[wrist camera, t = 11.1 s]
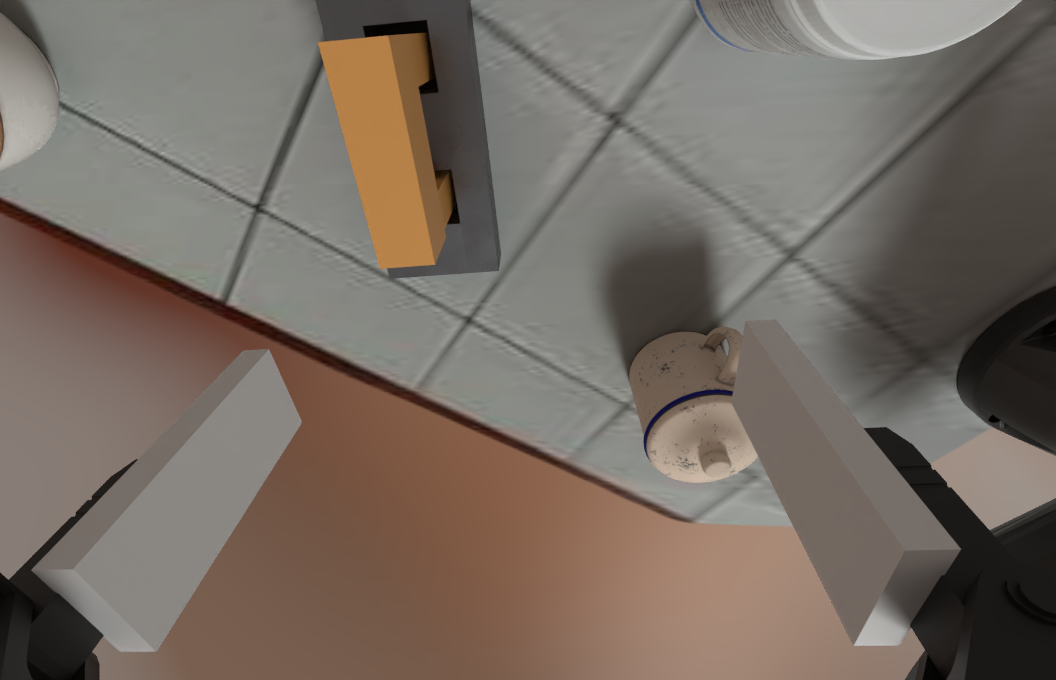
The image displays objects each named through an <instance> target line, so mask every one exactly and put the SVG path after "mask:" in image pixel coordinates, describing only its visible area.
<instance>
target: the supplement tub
mask: <svg viewBox="0 0 1056 680" xmlns="http://www.w3.org/2000/svg"><path fill="white" fill-rule="evenodd" d="M691 1H692V4H693V7H694V9H695V11H696V13H697V15H698V17H699V19H700V20H701V22H702V23H703V25H704V26H705V28H706V29H707V30H708V31H709V32H710V33H711V34H712V35H713V36H714V37H715V38H716V39H718V40H719V41H721V42H722V43H724V44H726V45H728V46H730V47H733V48H736V49H739V50H744V51H752V52H764V53H775V54H788V55H801V56H814V57H826V58H838V59H858V60H879V59H890V58H896V57H904V56H914V55H919V54H925V53H929V52H932V51H936V50H939V49H942V48H945V47H948V46H950V45H953V44H955V43H957V42H960V41H962V40H964V39H966V38H968V37H970V36H972V35H974V34H976V33H977V32H979V31H981V30H982V29H984V28H986V27H987V26H989V25H990V24H992V23H993V22H995V21H996V20H998V19H999V18H1000V17H1002V16H1003V15H1005V14H1006V13H1007V12H1008V11H1010V10H1011V9H1012V8H1014V7H1015V6H1016V5H1017V4H1018V3H1019V2H1021V1H1022V0H691Z"/></svg>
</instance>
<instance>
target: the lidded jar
mask: <svg viewBox="0 0 1056 680" xmlns="http://www.w3.org/2000/svg"><path fill="white" fill-rule="evenodd" d="M58 116H59V88H58V83H57V80H56V77H55V74H54V72H53V69H52V67H51V65H50V63H49V62H48V60H47V59H46V57H45V55H44V54H43V53H42V52H41V50H40V49H39V48H38V46H37V45H36V44H35V43H34V42H33V41H32V40H31V39H30V38H29V37H28V36H27V35H26V34H25V33H23V32H22V31H21V30H20V29H19V28H18V27H17V26H16V25H15V24H14V23H13V22H11V21H10V20H9V19H8V18H7V17H6V16H5V15H3V14H2V13H1V12H0V171H2V170H4V169H7V168H9V167H11V166H14V165H16V164H18V163H20V162H22V161H24V160H26V159H27V158H29V157H30V156H32V155H33V154H35V153H36V152H37V151H39V150H40V149H41V148H42V147H43V146H44V145H45V144H46V142H47V141H48V140H49V138H50V137H51V136H52V134H53V132H54V130H55V127H56V124H57V121H58Z"/></svg>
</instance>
